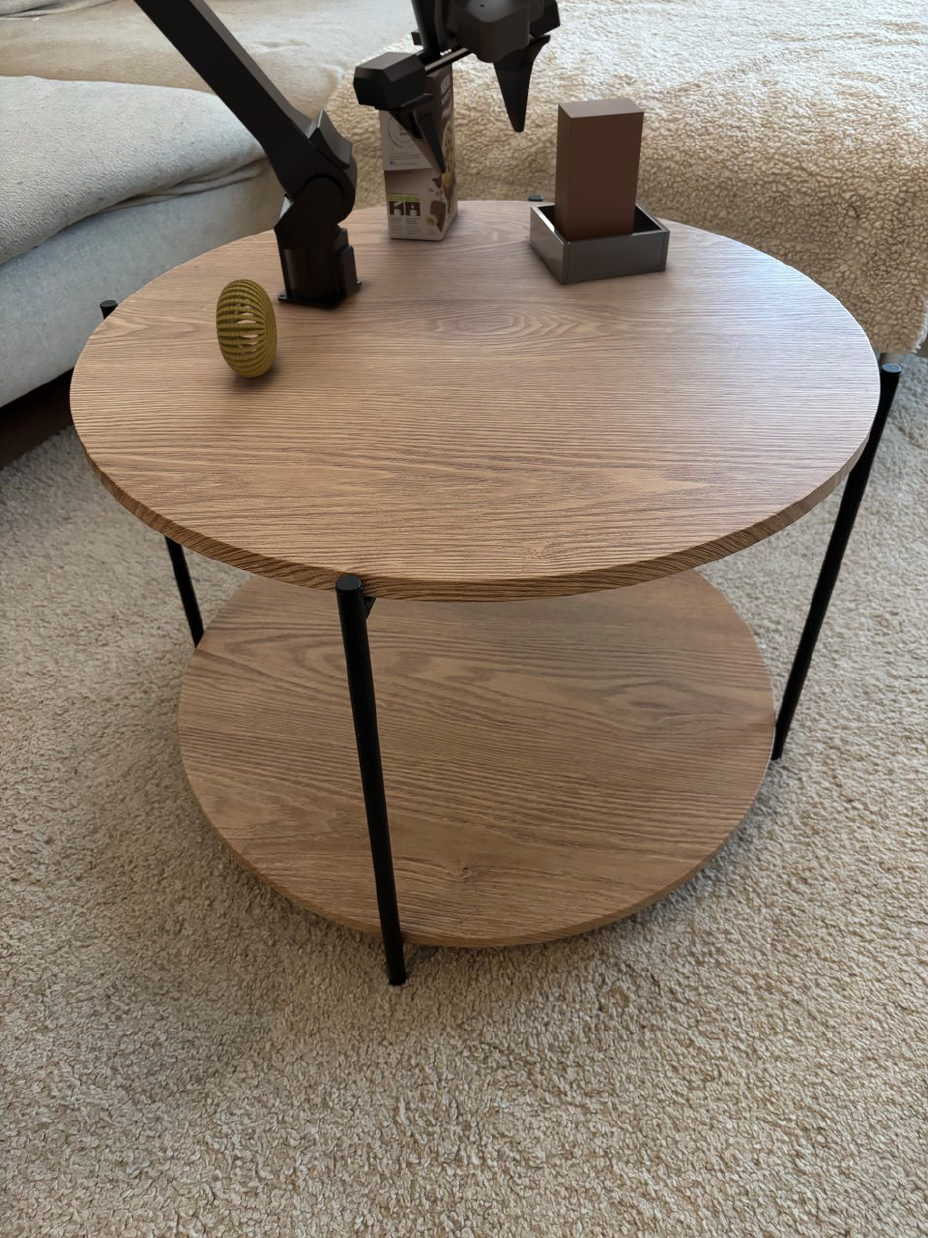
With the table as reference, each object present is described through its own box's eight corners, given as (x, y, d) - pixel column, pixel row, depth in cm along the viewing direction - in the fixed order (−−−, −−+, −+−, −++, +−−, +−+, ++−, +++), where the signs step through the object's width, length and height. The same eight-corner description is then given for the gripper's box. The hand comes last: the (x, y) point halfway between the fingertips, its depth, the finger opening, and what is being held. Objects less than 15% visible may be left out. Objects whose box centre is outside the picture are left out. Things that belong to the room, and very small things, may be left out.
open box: (561, 284, 91) (563, 244, 88) (529, 243, 99) (530, 205, 96) (665, 270, 93) (670, 230, 90) (625, 230, 101) (629, 193, 98)
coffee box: (443, 241, 100) (435, 76, 89) (387, 239, 101) (372, 75, 90) (460, 211, 106) (454, 53, 95) (407, 209, 108) (395, 53, 96)
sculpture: (243, 350, 83) (224, 263, 78) (286, 349, 83) (270, 262, 77) (224, 394, 77) (202, 304, 72) (270, 393, 77) (252, 303, 72)
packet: (564, 267, 93) (570, 117, 83) (552, 249, 96) (558, 102, 87) (630, 261, 93) (644, 111, 84) (616, 242, 97) (628, 96, 87)
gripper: (394, -10, 64) (451, 209, 75) (588, -98, 70) (615, 118, 80) (321, -8, 72) (382, 190, 82) (501, -88, 77) (536, 108, 88)
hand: (481, 152), depth 83 cm, fingers open, 9 cm apart
